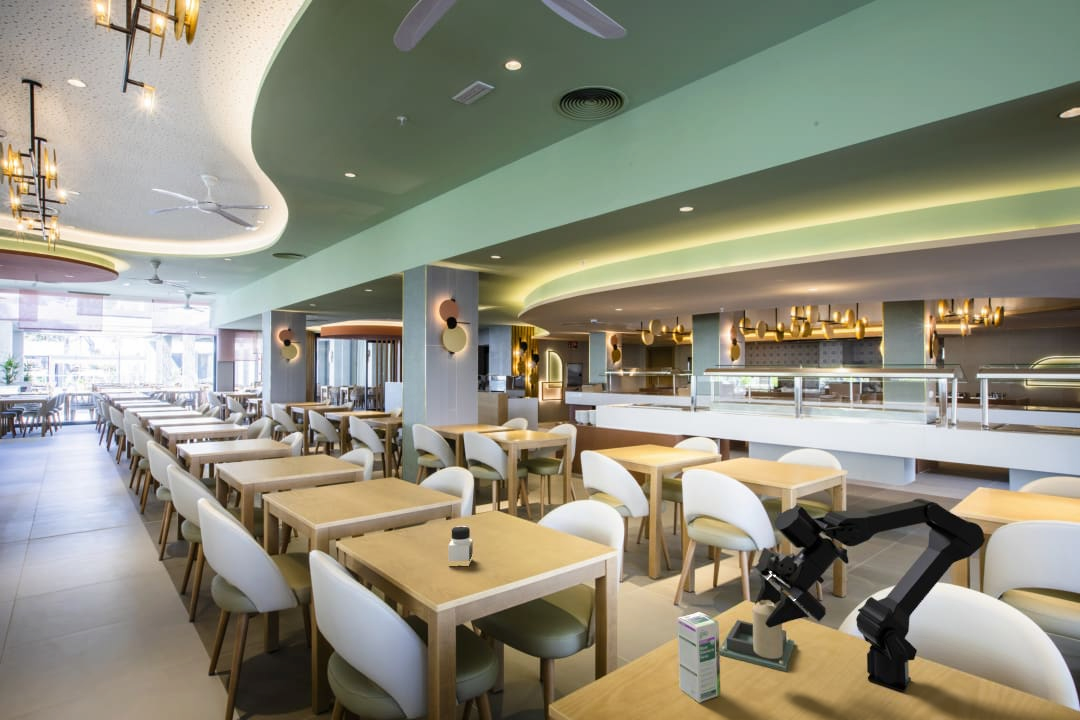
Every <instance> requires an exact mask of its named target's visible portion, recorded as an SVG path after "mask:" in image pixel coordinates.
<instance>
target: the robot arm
mask: <svg viewBox="0 0 1080 720" xmlns="http://www.w3.org/2000/svg"><path fill="white" fill-rule="evenodd" d="M919 524H924V525H925V526H927V527H928V528H930V530H929V533H928V543H927V544H928V545H927V547H926V548H925V550H923V551H922V553H921V554H920V555H919V556H918V558H917V559H916V560H915V562H914V563H913V564H912V565H911V566H910V568H909V569H908V570H907V571H906V572H905V573H904V575H903V576H902V577H901V578H900V580H898V582H897V584H895V586H894V587H893V588H892V589H891V591H890V592H889V593H888V594H887V595H886V596H885V597H883V598H881V599H879V600H877V599H876V598H874V597H872V596H870V597H869V598H868V599H866V601H865V603H864V605H862V606H861V607H860V608H858V609H857V612H858V614H857V615H856V617H855V618H856V619H855V621H856V627H857V630H858V631H859V633H860V634H862V636H863V639H864V641H865V642H867V643H868V644H870V646H869V650H868V652H866V672H867V673H868V674H869V675H868V676H867V681H870V682H872V683H875V684H878V685H881V686H884V687H887V688H890V689H893V690H896V691H899V692H901V693H905V692H906V690H907V689H908V687H909V685H910V684H911V681H912V678H911V677H910V676H909V675H910V674H909V673H910V672H909V661H915V658H916V655H917V652H918V650H917V649H916V647H914V645H912V644H911V642H910V641H909V640H907V639H906V637H907V635H908V634H909V631H910V620H911V619H910V617H911V615H912V614H913V612H915V610H917V608H918V607H919V605H920V604H921V603H922V602H923V600H924V599H925V598H926V597H927V596H928V595H929V593H930V592H931V591H932V589H934V587H935V586H936V585H937V584H938V582H939V581H940V579H942V577H943V576H944V575H945V574H946V572H947V571H948V570H949V569H950V568H951V566H952V565H954V564H955V563H957V562H959V561H961V560H965V559H967V558H970V557H971V556H972V555H974V554H975V553H976V552H978V550H979V549H981V548H982V547H983V545H984V544H985V541H986V538H985V535H984V530H983V528H982V527H981V526H980V525H979V524H978V523H975V522H973V521H969V520H967V519H963V518H961V517H960V516H958V515H956V514H954V513H952V511H951V512H950V511H949V510H947V509H945V508H944V507H943V506H941V505H940V504H938V503H937V502H934V501H931V500H928V499H925V498H915V499H913V500H912V501H911V500H910V501H907V502H901V503H899V504H898V503H897V504H892V505H888V506H884V507H883V506H882V507H879V508H875V509H871V510H870V509H869V510H866V511H864V510H863V511H855V510H832V511H829V512H827V513H825V515H824V516H819V517H815V518H814V517H813V518H812V516H810V514H809V513H808V512H807V510H806V509H805V508H804V507H803V506H800V505H798V504H796V505H794V507H793V508H789V509H786V510H784V511H783V512H780V513H779V514H778V516H777V517H776V518H775V520H774V528H775V529H776V530H777V531H778V532H779V533H780V534H781V535H782V536H783V537H784V538H785V539H786V540H787V541H788V542H789V543H790V544H792V546H793V547H795V548H796V549H797V548H798V549H801V550H799V552H798V553H797V554H794V553H789V554H788V555H787V554H785V553H783V552H782V553H781V554H780V553H778V552H776V551H773V550H772V549H769V548H767V547H763V548H762V551H761V553H760V556H759V558H758V563H756V565H755V566H754V569H755V570H756V571H758V573H759V575H758V576H759V578H760V582H761V583H760V584H761V586H760V590H759V593H758V595H757V598H756V600H755V603H754V605H755V604H757V603H758V602H760V601H761V600H770V601H771V602H772V603H774V604H775V605H776V604H777V603H778V604H777V605H776V606H777V607H776V608H775V610H774V611H773V612H772V614H771V615H770V616H769V618H768V619H767V621H766V623H765V624H766V625H767V626H768V627H769V628H771V627H774V626H777V625H780V624H782V625H783V624H785V623H788V622H791V621H795V620H799V619H803V618H806V619H808V618H810V616H811V617H812V618H813V619H815V620H816V621H817V622H818V623H820V622H821V621H822V620H823V619H824V618H825V616H826V613H827V612H826V611H827V610H826V606H824V605H823V604H822V603H821V602H820V601H819V600H818V599H817V597H815V596H814V595H813V594H812V593H811V592H810V589H811V588H812V587H813V586H814V585H815V584H816V583H819V584H820V585H822V584H823V583H824V581H825V579H824V578H823V575H824V574H825V573H826V572H827V571H828V570H829V569H830V567H832V565H833V564H835V562H836V561H837V560H839V561H840V562H842V563H844V564H846V565H848V564H849V556H848V549H847V548H844V547H842V546H838V545H837V544H836V543H835V542H838V543H839V544H842V545H844V546H846V547H856V546H858V545H860V544H863V543H865V542H868V541H870V540H871V539H872V538H873V536H874V535H877V534H879V533H883V532H884V533H885V532H887V531H888V532H889V531H892V530H897V529H901V528H905V527H910V526H915V525H919ZM821 534H822V535H824V536H826V537H823V536H822V535H821ZM833 540H834V541H835V542H834V541H833ZM784 591H785V592H786V593H788V595H787V594H786V593H785V592H784ZM752 613H753V610H752ZM808 613H809V615H808Z"/></svg>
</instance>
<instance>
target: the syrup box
mask: <svg viewBox="0 0 1080 720" xmlns="http://www.w3.org/2000/svg"><path fill="white" fill-rule="evenodd" d="M719 624H720V623H719V621H718V620H716V619H715V618H713V617H711V616H710V615H708V614H705V613H703V612H700V611H697V612H695V613H693V614H692V613H691V614H688V615H684V616H679V617H677V639H678V640H677V641H678V673H679V674H678V677H679V680H678V682H679V690H681V691H682V692H683V693H685V694H686V695H687V696H688V695H689V696H688V697H689V698H691V697H692V698H691V699H693V700H694V701H695V700H696V702H697V703H699V704H700V703H702V702H705V701H708V700H710V699H712V698H716V697H719V696H721V666H720V665H721V664H720V663H721V661H720V658H721V657H720V656H721V655H719V649H720V627H719Z"/></svg>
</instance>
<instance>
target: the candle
mask: <svg viewBox="0 0 1080 720" xmlns="http://www.w3.org/2000/svg"><path fill="white" fill-rule="evenodd" d="M777 606H778V605H776V603H775V604H774V603H772V602H771V601H770V600H761V601H760V602H758V603H757V604H755V603H754V605H753V606H752V610H753V612H752V623H753V647H754V652H755V653H756V654H758V655H759V656H762V657H765V658H770V659H776V658H780V657H781V656H782V654H783V645H782V630H783V623H782V624H780V625H777V626H774V627H771V628H769V627H768V626H767V625H766V624H765V623H766V621H767V619H768V618H769V616H770V615H771V614H772V612H773V611H774V610H775V608H776V607H777Z"/></svg>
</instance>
